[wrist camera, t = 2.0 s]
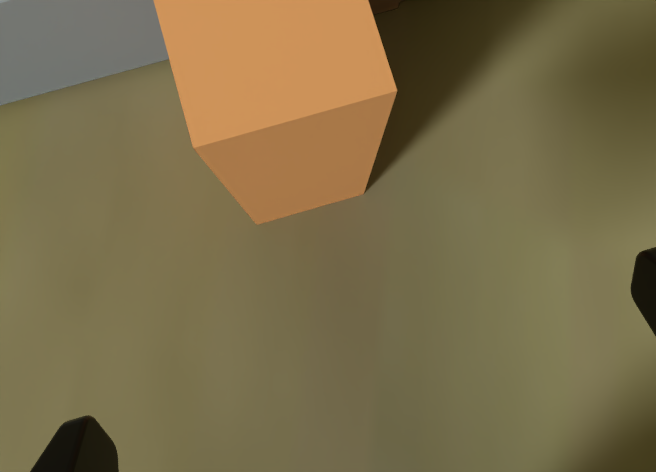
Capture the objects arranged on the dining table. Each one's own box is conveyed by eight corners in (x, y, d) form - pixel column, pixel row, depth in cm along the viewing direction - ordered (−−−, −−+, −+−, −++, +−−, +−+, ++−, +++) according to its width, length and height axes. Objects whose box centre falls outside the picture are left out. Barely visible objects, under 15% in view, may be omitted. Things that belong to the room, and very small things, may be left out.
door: (339, 15, 24) (344, -95, 17) (-168, 154, 23) (-361, 94, 16) (321, -43, 24) (319, -172, 18) (-179, 92, 23) (-373, 9, 17)
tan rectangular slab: (363, 193, 23) (397, 90, 12) (256, 224, 23) (193, 148, 12) (322, 58, 24) (318, -154, 13) (218, 87, 24) (125, -103, 13)
